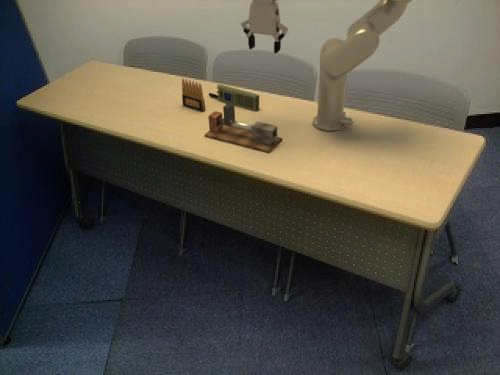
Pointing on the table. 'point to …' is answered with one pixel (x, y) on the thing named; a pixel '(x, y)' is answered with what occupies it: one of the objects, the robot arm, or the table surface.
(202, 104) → the ammunition clip
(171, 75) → the table surface
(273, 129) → the tube stand
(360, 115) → the table surface
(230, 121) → the tube
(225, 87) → the handheld radio
